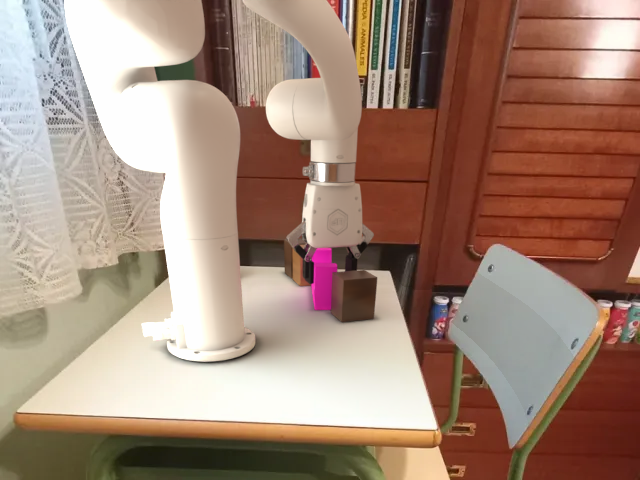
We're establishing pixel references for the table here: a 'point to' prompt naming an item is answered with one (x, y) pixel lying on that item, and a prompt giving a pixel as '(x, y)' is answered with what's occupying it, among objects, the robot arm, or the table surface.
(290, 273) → the line block
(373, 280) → the line block
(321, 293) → the toy block
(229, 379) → the table surface
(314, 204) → the robot arm
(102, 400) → the table surface
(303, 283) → the block
